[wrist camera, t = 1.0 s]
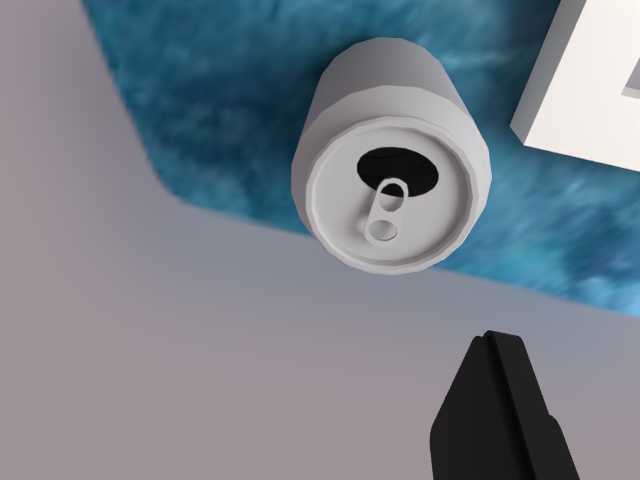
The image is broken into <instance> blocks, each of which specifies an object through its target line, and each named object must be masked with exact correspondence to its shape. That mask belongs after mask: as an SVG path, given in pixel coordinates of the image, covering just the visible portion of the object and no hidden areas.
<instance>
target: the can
mask: <svg viewBox="0 0 640 480" xmlns="http://www.w3.org/2000/svg"><path fill="white" fill-rule="evenodd" d="M491 179H492V175H491V167H490V159H489V151H488V147H487V145H486V143H485V142H484V140H483V138H482V136H481V134H480V132H479V130H478V128H477V126H476V125H475V123H474V121H473V119H472V117H471V116H470V114H469V112H468V110H467V108H466V107H465V105H464V103H463V101H462V100H461V98H460V96H459V94H458V93H457V91H456V89H455V87H454V85H453V84H452V82H451V80H450V78H449V77H448V75H447V73H446V71H445V70H444V68H443V66H442V64H441V63H440V62H439V61H438V60H437V59H436V58H435V57H434V56H433V55H432V54H430V53H429V52H428V51H427V50H426V49H425V48H424V47H422V46H419V45H417V44H414V43H412V42H409V41H407V40H405V39H402V38H385V37H377V38H373V39H370V40H366V41H363V42H359V43H356V44H354V45H352V46H351V47H350V48H348V49H347V50H345V51H344V52H342V53H341V54H339V55H338V56H336V57H335V58H334V60H333V61H332V62H331V63H330V65H329V66H328V67H327V69H326V70H325V71H324V72H323V74H322V75H321V78H320V80H319V83H318V86H317V89H316V92H315V94H314V97H313V100H312V103H311V106H310V109H309V112H308V116H307V119H306V122H305V125H304V128H303V131H302V134H301V137H300V140H299V143H298V146H297V149H296V152H295V155H294V159H293V162H292V172H291V193H292V196H293V199H294V202H295V205H296V208H297V211H298V214H299V217H300V219H301V221H302V222H303V223H304V225H305V226H306V227H307V229H308V230H309V231H310V233H311V234H312V235H313V237H314V238H315V239H316V240H317V241H318V242H319V243H320V244H321V246H322V247H323V248H324V250H325V251H326V252H328V253H329V254H331V255H332V256H334V257H335V258H336V259H338V260H339V261H340V262H342V263H343V264H345V265H347V266H349V267H352V268H355V269H358V270H361V271H364V272H366V273H370V274H384V275H399V274H405V273H410V272H416V271H421V270H423V269H425V268H427V267H429V266H431V265H433V264H435V263H437V262H440V261H442V260H444V259H445V258H446V257H447V256H448V255H449V254H451V253H452V252H453V251H454V250H455V249H456V248H457V247H459V246H460V245H461V244H462V243H463V242H464V240H465V238H466V237H467V235H468V234H469V232H470V230H471V229H472V227H473V225H474V224H475V222H476V221H477V219H478V217H479V216H480V214H481V212H482V211H483V209H484V208H485V205H486V201H487V197H488V192H489V188H490V184H491Z"/></svg>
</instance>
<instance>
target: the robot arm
mask: <svg viewBox="0 0 640 480" xmlns="http://www.w3.org/2000/svg"><path fill="white" fill-rule="evenodd" d="M430 451H431V461H432V470H433V479H434V480H580V479H579V476H578V473H577V470H576V468H575V465H574V462H573V460H572V457H571V454H570V452H569V449H568V446H567V443H566V441H565V438H564V435H563V433H562V430H561V428H560V426H559V424H558V422H557V420H556V419H555V418H553V416H551V415H549V413H548V410H547V407H546V405H545V401H544V399H543V396H542V394H541V390H540V388H539V385H538V382H537V379H536V376H535V373H534V371H533V368H532V365H531V362H530V360H529V357H528V354H527V351H526V348H525V345H524V343H523V341H522V339H521V338H520V337H519V336H516V335H511V334H505V333H501V332H496V331H491V330H489V331H487V332H486V333H485V334H484V336H483V337H481V336H476V337H475V338H474V339H473V340H472V342H471V345H470V347H469V349H468V351H467V353H466V355H465V357H464V359H463V361H462V364H461V366H460V368H459V370H458V372H457V374H456V376H455V378H454V380H453V383H452V385H451V387H450V389H449V391H448V393H447V395H446V397H445V400H444V402H443V404H442V406H441V408H440V410H439V412H438V414H437V417H436V419H435V421H434V423H433V425H432V428H431V432H430Z"/></svg>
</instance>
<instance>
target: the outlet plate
mask: <svg viewBox="0 0 640 480" xmlns="http://www.w3.org/2000/svg"><path fill="white" fill-rule="evenodd" d="M509 126H510V127H511V129H512V130H513V131H514V133H515V134H516V135H517V137H518V138H519V139H520V141H521V142H522V143H523V145H526V146H530V147H534V148H539V149H543V150H548V151H552V152H556V153H561V154H565V155H570V156H574V157H578V158H583V159H587V160H592V161H596V162H600V163H605V164H609V165H613V166H618V167H622V168H627V169H631V170H635V171H640V0H561V2H560V4H559V6H558V9H557V11H556V14H555V16H554V19H553V21H552V23H551V26H550V28H549V31H548V33H547V36H546V38H545V40H544V43H543V45H542V48H541V50H540V53H539V55H538V57H537V60H536V62H535V65H534V67H533V70H532V72H531V74H530V77H529V79H528V82H527V84H526V87H525V89H524V91H523V94H522V96H521V99H520V101H519V104H518V106H517V108H516V111H515V113H514V116H513V118H512V121H511V123H510V125H509Z"/></svg>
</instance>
